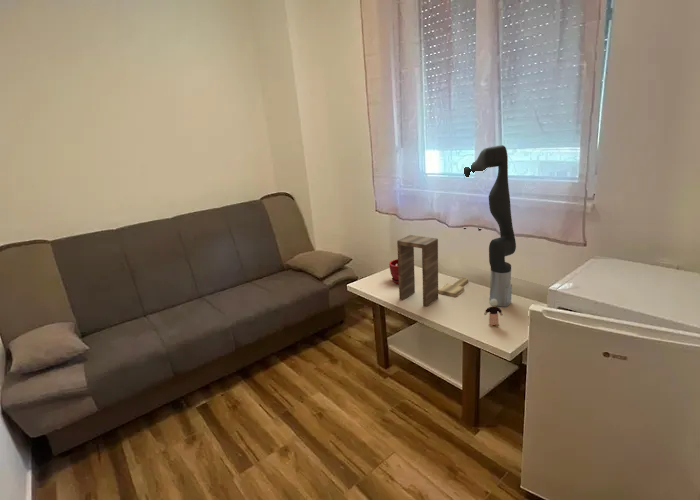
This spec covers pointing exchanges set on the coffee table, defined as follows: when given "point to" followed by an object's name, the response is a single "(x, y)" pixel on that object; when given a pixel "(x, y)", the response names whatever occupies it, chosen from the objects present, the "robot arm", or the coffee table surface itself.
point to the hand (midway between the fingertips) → (472, 229)
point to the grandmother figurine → (493, 313)
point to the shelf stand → (428, 267)
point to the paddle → (453, 288)
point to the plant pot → (394, 271)
